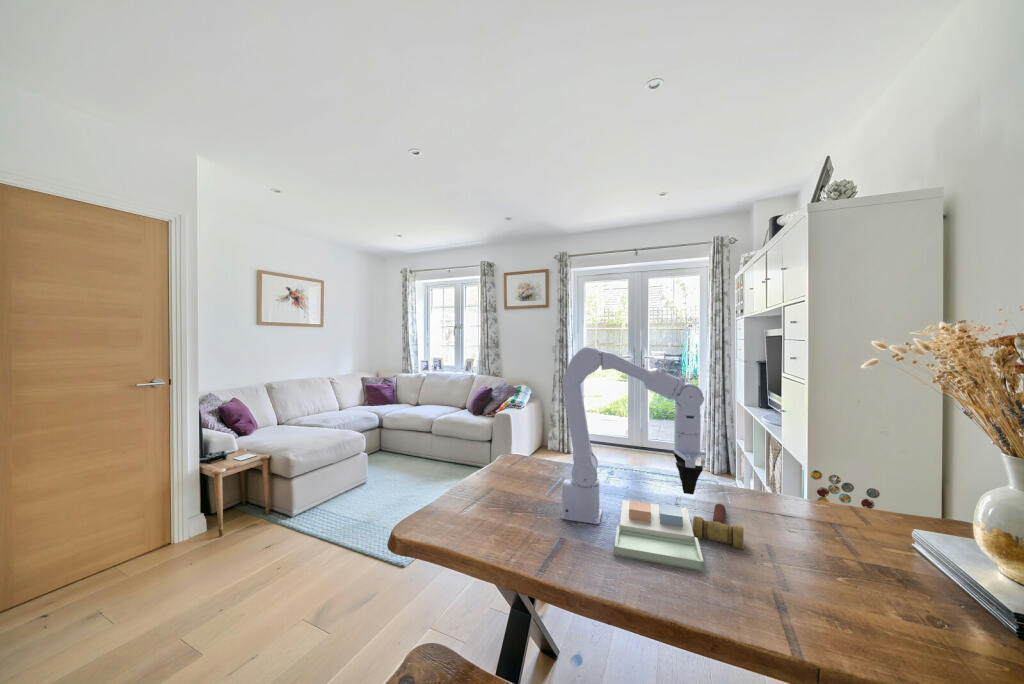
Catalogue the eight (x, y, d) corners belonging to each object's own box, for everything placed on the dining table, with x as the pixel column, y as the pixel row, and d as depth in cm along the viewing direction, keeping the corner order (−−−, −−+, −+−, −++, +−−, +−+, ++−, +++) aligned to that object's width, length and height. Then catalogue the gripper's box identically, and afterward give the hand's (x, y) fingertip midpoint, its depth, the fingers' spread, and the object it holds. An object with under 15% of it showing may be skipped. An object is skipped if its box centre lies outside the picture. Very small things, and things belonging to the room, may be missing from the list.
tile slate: (659, 523, 89) (659, 513, 89) (658, 514, 93) (658, 504, 93) (682, 527, 87) (682, 516, 87) (680, 517, 92) (680, 507, 92)
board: (619, 533, 88) (619, 524, 88) (622, 507, 102) (622, 499, 102) (694, 545, 83) (694, 536, 83) (686, 516, 96) (686, 508, 96)
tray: (614, 555, 80) (614, 546, 80) (617, 533, 88) (617, 525, 88) (703, 571, 74) (703, 561, 74) (697, 546, 83) (697, 537, 83)
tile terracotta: (629, 519, 91) (629, 509, 91) (629, 510, 96) (629, 500, 96) (650, 522, 89) (650, 512, 89) (650, 512, 94) (650, 503, 94)
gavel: (700, 492, 104) (742, 500, 99) (699, 508, 104) (742, 518, 98) (692, 520, 86) (743, 531, 81) (692, 540, 86) (743, 553, 81)
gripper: (710, 441, 82) (709, 502, 83) (701, 426, 96) (700, 478, 97) (676, 438, 85) (675, 497, 85) (671, 423, 99) (671, 474, 99)
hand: (686, 487), depth 91 cm, fingers open, 7 cm apart
